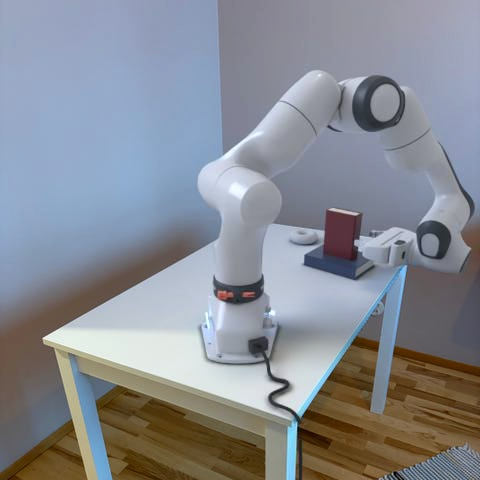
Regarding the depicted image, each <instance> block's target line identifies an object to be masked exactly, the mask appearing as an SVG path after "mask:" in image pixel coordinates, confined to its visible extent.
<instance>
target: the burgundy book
mask: <svg viewBox="0 0 480 480" xmlns="http://www.w3.org/2000/svg"><path fill="white" fill-rule="evenodd" d="M325 210H326V211H325V222H324V233H323V234H324V236H323V244H324V246H323V253H324V254H328V255H332V256H335V257H339V258H343V259H346V260H350V261H352V260H353V259H355V258H356V257H357V256H358V251H359V247H358V246H355V245H354V241H355V240H356V239H361V231H362V230H361V229H362V222H363V213H364V212H361V211H356V210H352V209H351V210H350V209H347V208H341V207H336V206H332V207H331V208H329V209H325Z"/></svg>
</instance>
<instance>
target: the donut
mask: <svg viewBox="0 0 480 480" xmlns="http://www.w3.org/2000/svg"><path fill="white" fill-rule="evenodd" d="M318 235H319V234H318V233H317V231H315V230H313V229H310V228H296V229H293V231H290V234H289V239H290V241H291V242H293V243H294V244H297V245H311V244H313V243H315V242H317V240H318V237H319V236H318Z"/></svg>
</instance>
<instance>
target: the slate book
mask: <svg viewBox="0 0 480 480" xmlns="http://www.w3.org/2000/svg"><path fill="white" fill-rule="evenodd" d="M323 246H324V243H322V244H321V245H319V246H318V247H315V248H314V249H312V250H310V251H308V252H306V253H305V254H304V255H303V256H304V257H303V265H305V266H307V267H311V268H313V269H317V270H321V271H324V272H328V273H331V274H334V275H338V276H340V277H344V278H348V279H351V280H356V279H358V278H359V277H361V276H362V275H363V274H365V273H366V272H368V271H369V270H371V269H372V268H374V267H375V264H374V263H375V261H372V260H369V259H366V258H365V257H363V255H362V252H363V251H359V250H358V256H357V257H356V258H355V259H353V260H352V261H350V260H346V259H343V258H339V257H335V256H332V255H328V254H324V253H323Z"/></svg>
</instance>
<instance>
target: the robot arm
mask: <svg viewBox="0 0 480 480" xmlns="http://www.w3.org/2000/svg"><path fill="white" fill-rule="evenodd" d="M326 128H327V129H329V130H331V131H333V132H337V133H350V134H364V133H376V135H377V137H378V140H379V142H380V146H381V149H382V152H383V153H384V157H385V159H386V161H387V162H388V164H389V165H390V168H392V170H394V171H395V172H398V173H401V174H415V173H419V172H422V171H423V172H424V174H425V175H426V178H427V179H428V181H429V183H430V185H431V188H432V190H433V192H434V195H435V196H434V201H433V204H432V206H431V207H430V209H429V210H428V212H427V213H426V214H425V215H424V217H423V218H422V219H421V221H420V222H419V224H418V226H417V228H416V231H415V232H413V231H412V230H408V229H406V228H401V227H399V226H397V227H396V226H394V227H393V226H392V227H390V228H389V229H387V230H374V229H372V230H370V231H369V234H368V236H369V237H370V238H372V239H371V240H369V241H364V240H363V239H361V238H360V239H356V240H355V241H354V245H355V246H358V248H360V249H361V250H362V251H361V252H362V255H363V257H365V258H366V259H369V260H372V261H374V262H375V263H381V264H384V265H385V264H386V265H387V264H388V267H390V268H395V269H396V268H399V267H402V266H412V267H422V268H424V269H426V270H428V271H432V272H435V273H440V274H445V275H459V274H461V273H462V272H463V271H464V269H465V268H466V266H467V264H468V262H469V261H470V258H471V256H472V253H473V250H472V247H470V246H468V245H467V244H466V243H465V241H464V239H463V237H462V234H461V233H462V230H463V229H464V227H465V226H466V224H468V222H469V221H470V220H471V219H472V218H473V216H474V214H475V210H476V206H475V203H474V199H473V198H472V197H471V195H470V194H469V193H468V192H467V191H466V189H465V188H464V187H463V186H462V183H461V182H460V180H459V177H458V175H457V173H456V171H455V169H454V167H453V164H452V162H451V160H450V157H449V156H448V153H447V152H446V149H445V148H444V145H442V144H441V143H440V141H438V140H437V139H436V137H435V135H434V132H433V130H432V127H431V124H430V120H429V117H428V116H427V113H426V111H425V109H424V107H423V105H422V102H421V101H420V98H419V97H418V96H417V94H416V93H415V91H414V90H413V89H412V88H411V87H409V86H406V85H399V84H398V83H397V81H395V80H394V79H392V78H391V77H389V76H387V75H381V74H373V75H370V76H355V77H351V78H347V79H344V80H339V81H337V80H336V78H334V77H333V75H331V74H330V73H328V72H326V71H324V70H322V69H321V70H320V69H314V70H311V71H309V72H307V73H306V74H305V75H303V76H302V77H301V78H300V79H299V80H297V81H296V82H295V83H294V84H293V85H292V86H291V87H290V88H288V90H287V91H286V92H285V93H284V94H283V95H282V96H281V97H280V99H279V100H278V101H277V102H276V103H275V105H274V106H273V107H272V108H271V109H270V110H269V112H267V114H266V115H265V116H264V117H263V119H262V120H261V121H260V122H259V123H258V125H256V127H255V128H254V129H253V130H252V131H251V132H249V134H248V135H246V136H245V138H243V139H242V140H241V141H240V142H238V143H237V144H236V145H234V146H233V147H232V148H231V149H229V150H228V151H227V152H226V153H224V154H223V155H222V156H220V157H219V158H217V159H214V160H212V161H210V162H208V163H207V164H205V165H204V166H203V167H202V168H201V170H200V172H199V173H198V177H197V182H196V183H197V190H198V193H199V194H200V196H201V198H202V199H203V200H204V202H205V203H206V205H207V206H208V207H209V208H211V209H212V210H214V211H216V212H218V213H219V215H220V219H221V225H220V232H219V235H218V238H217V239H216V240H215V242H214V243H213V246H212V247H213V249H212V250H213V262H214V263H213V267H214V268H213V270H214V274H213V276H212V289H213V292H212V293H211V294H210V295H209V296H208V312H205V318H206V320H205V321H204V322H202V323H201V333H202V338H203V342H204V346H205V352H206V356H207V357H206V358H207V359H208V360H210V361H213V362H217V363H222V364H237V365H238V364H239V365H240V364H252V363H253V364H254V363H260V362H263V361H264V362H265V365H266V372H267V375H268V377H269V378H270V379H271V380H272V381H275V382H279V383H284V384H285V385H284V386H282V387H280V388H278V389H275V390H273V391H271V392H270V393H269V394H268V396H267V401H268V403H269V404H270V405H271V406H274V407H276V408H279V409H282V410H285V411H286V412H288V413H290V414H291V415H292V416H293V417H294V419H295V420H296V423H297V424H299V425H301V424H302V420H301V418H300V416H299V415H298V413H297V412H296V411H295V410H294V409H293V408H291V407H289V406H287V405H284V404H280V403H279V402H275V401H274V400H273V396H275V395H277V394H280V393H281V392H284V391H286V390H287V389H288V388H289V386H290V382H289V380H287V379H285V378H282V377H281V378H280V377H276V376H275V375H273V374H272V371H271V363H270V360H269V358H270V356H271V353H272V350H273V346H274V342H275V338H276V335H277V331H278V328H279V327H278V323H277V322H276V321H274V320H272V318H271V316H276V311H274V310H272V306H270V305H271V303H270V301H271V300H270V299H271V298H270V297H271V296H270V295H268V294H267V293H266V292H265V276H264V273H263V247H264V241H265V238H266V235H267V231H268V228H269V227H270V226H271V225H272V224H273V223H274V222H275V221H276V220H277V218H278V217H279V215H280V214H281V213H280V212H281V210H282V205H283V199H282V198H283V197H282V194H281V192H280V189H279V188H278V187H277V186H276V184H275V183H273V181H271V179H272V178H274V177H275V176H277V175H279V174H282V173H284V172H287V171H289V170H291V169H292V168H293V167H294V166H295V165H296V164H297V163H298V162H299V160H300V159H301V158H302V157H303V155H304V154H306V152H307V151H308V149H309V148H310V147H311V146H312V145H313V144H314V143H315V141H316V140H317V139H318V138H319V137H320V135H321V134H322V132H323V131H324V130H325V129H326ZM297 444H298V445H297V449H298V451H297V452H298V480H303V439H298V442H297Z"/></svg>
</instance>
